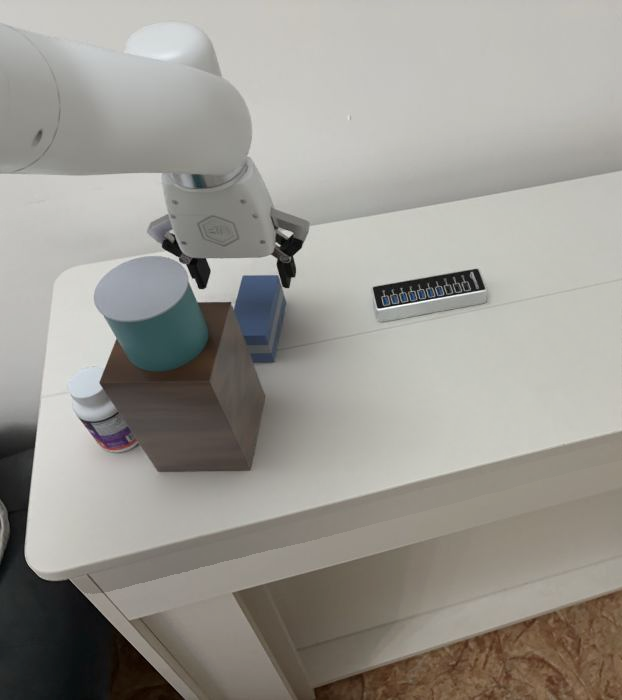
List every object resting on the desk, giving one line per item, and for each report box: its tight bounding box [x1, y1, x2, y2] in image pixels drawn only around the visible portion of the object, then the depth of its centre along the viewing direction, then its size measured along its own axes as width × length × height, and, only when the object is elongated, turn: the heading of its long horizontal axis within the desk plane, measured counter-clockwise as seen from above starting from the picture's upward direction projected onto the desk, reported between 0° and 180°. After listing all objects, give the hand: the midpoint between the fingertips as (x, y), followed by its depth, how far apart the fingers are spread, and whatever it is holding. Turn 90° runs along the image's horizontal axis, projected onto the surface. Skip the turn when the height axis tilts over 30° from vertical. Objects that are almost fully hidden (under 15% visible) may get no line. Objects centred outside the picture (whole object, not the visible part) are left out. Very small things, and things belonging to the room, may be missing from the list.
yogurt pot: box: [93, 255, 209, 372], centre depth 65 cm, size 8×8×7 cm
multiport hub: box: [370, 267, 488, 323], centre depth 92 cm, size 4×14×2 cm, turn 104°
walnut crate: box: [99, 301, 266, 473], centre depth 74 cm, size 10×10×16 cm
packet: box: [233, 274, 287, 363], centre depth 87 cm, size 10×4×5 cm, turn 1°
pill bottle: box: [67, 366, 139, 453], centre depth 76 cm, size 5×5×10 cm
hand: (246, 280), depth 83 cm, fingers open, 9 cm apart
